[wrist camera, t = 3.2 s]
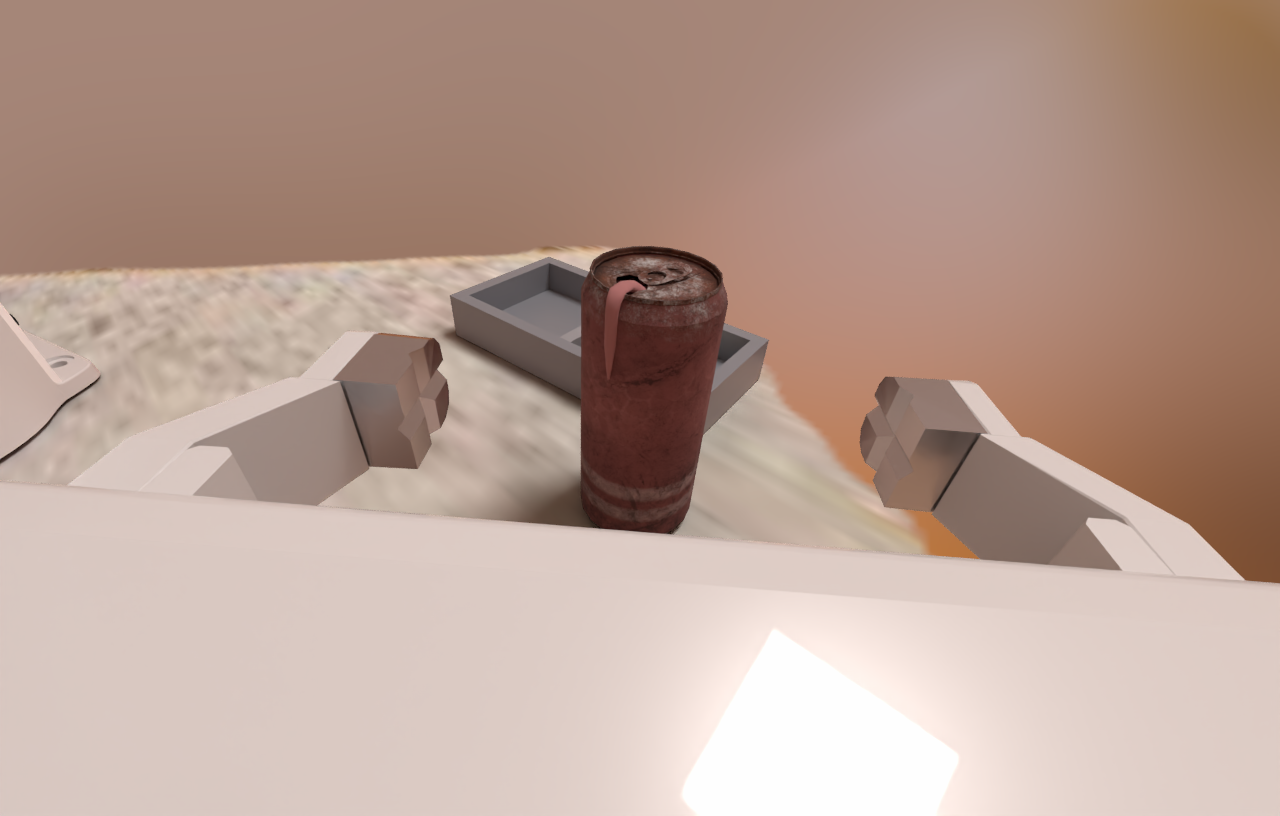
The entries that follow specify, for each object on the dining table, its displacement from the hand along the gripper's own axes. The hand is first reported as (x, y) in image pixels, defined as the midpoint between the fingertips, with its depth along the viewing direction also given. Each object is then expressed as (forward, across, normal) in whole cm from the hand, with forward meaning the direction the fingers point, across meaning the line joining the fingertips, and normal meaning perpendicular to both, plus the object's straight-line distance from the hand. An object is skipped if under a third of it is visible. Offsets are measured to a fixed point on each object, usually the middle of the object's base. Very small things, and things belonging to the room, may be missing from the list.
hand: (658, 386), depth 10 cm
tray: (+27, +3, +17) cm, 32 cm away
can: (+12, 0, +17) cm, 21 cm away
